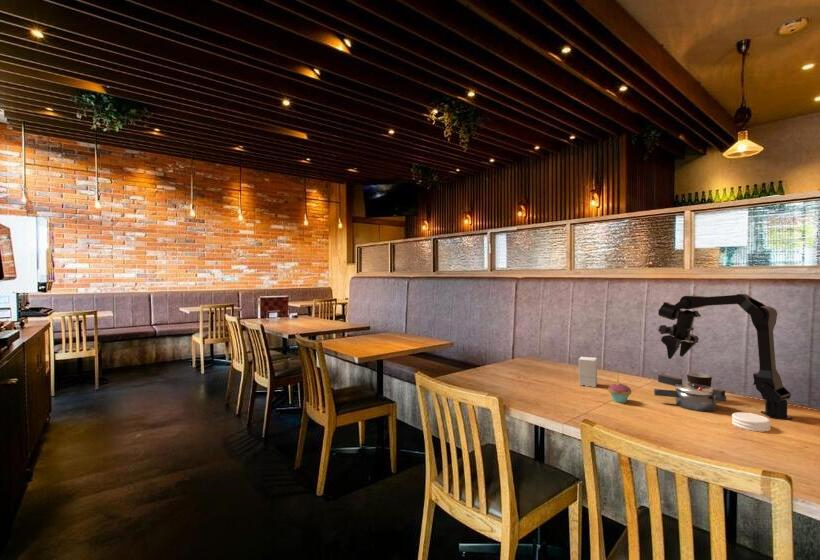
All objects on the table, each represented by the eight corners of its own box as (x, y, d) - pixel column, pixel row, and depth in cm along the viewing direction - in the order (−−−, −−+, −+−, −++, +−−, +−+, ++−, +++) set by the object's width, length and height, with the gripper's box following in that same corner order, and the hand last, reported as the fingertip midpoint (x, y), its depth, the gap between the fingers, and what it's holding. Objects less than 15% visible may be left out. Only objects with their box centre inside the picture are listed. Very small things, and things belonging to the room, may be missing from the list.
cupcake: (625, 405, 160) (625, 375, 160) (604, 400, 166) (604, 371, 166) (634, 401, 165) (634, 372, 165) (613, 396, 172) (613, 368, 172)
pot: (719, 404, 161) (719, 389, 161) (731, 414, 149) (731, 398, 149) (651, 397, 169) (651, 383, 169) (657, 407, 157) (657, 392, 157)
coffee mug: (712, 403, 162) (712, 378, 162) (686, 399, 167) (686, 375, 167) (712, 396, 171) (712, 372, 171) (687, 393, 176) (687, 370, 176)
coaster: (756, 434, 131) (756, 423, 131) (724, 423, 140) (724, 413, 140) (777, 430, 134) (777, 420, 134) (745, 420, 143) (745, 410, 143)
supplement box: (597, 384, 192) (597, 357, 192) (595, 387, 186) (595, 360, 186) (581, 382, 196) (581, 356, 196) (578, 385, 190) (578, 358, 189)
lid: (734, 394, 152) (734, 386, 152) (711, 399, 146) (711, 391, 146) (670, 379, 174) (670, 373, 174) (649, 383, 169) (649, 376, 169)
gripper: (676, 316, 185) (668, 348, 188) (653, 319, 176) (644, 352, 179) (703, 324, 175) (694, 358, 179) (679, 327, 166) (670, 362, 170)
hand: (675, 357), depth 177 cm, fingers open, 9 cm apart
